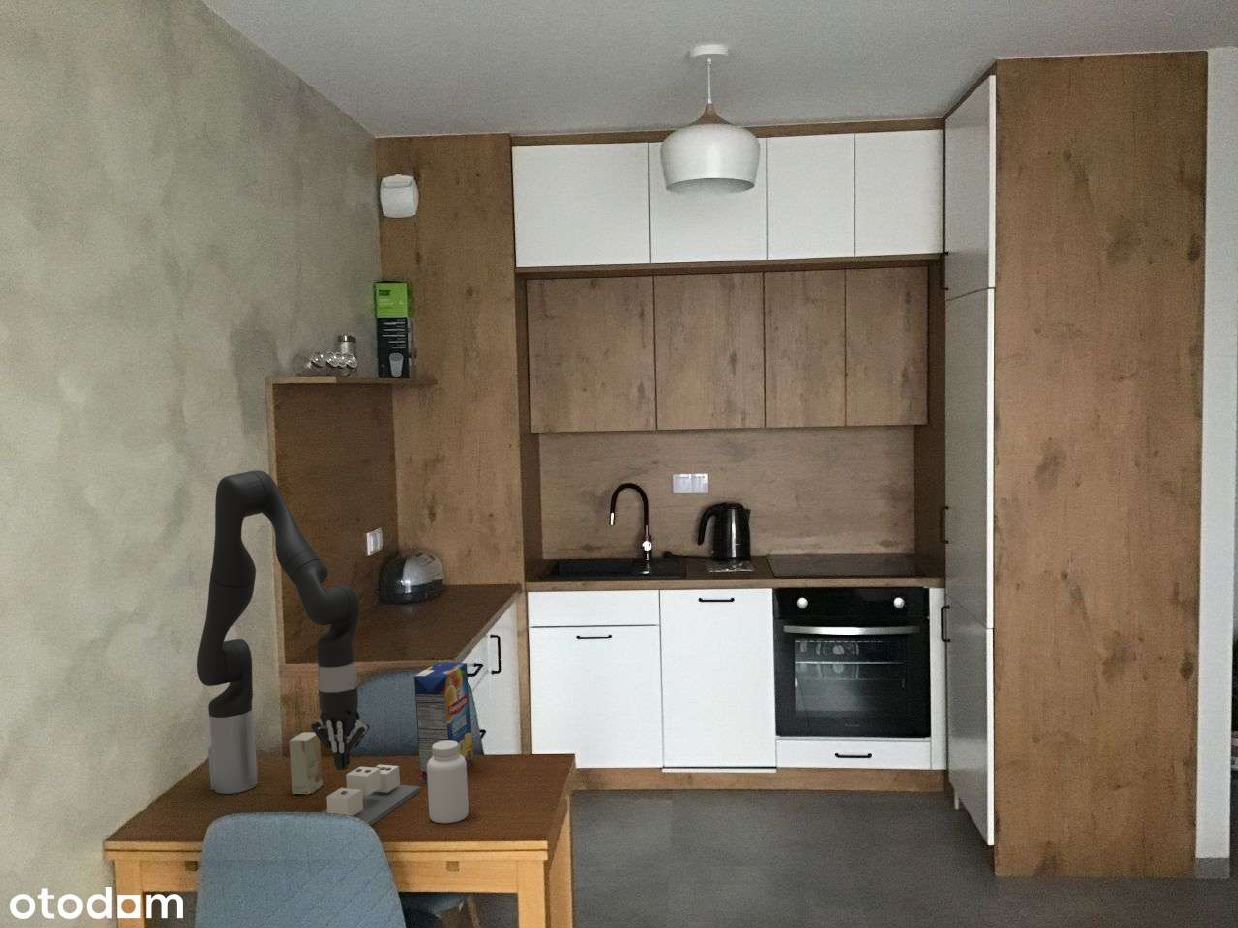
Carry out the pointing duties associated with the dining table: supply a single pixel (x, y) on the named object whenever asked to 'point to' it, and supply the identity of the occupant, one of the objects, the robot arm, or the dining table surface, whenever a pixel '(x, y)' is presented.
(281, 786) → the dining table surface
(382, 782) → the key
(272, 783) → the dining table surface
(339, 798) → the key
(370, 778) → the key
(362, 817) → the grey rectangular board
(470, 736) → the juice carton
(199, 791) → the dining table surface
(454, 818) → the pill bottle
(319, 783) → the skincare box
